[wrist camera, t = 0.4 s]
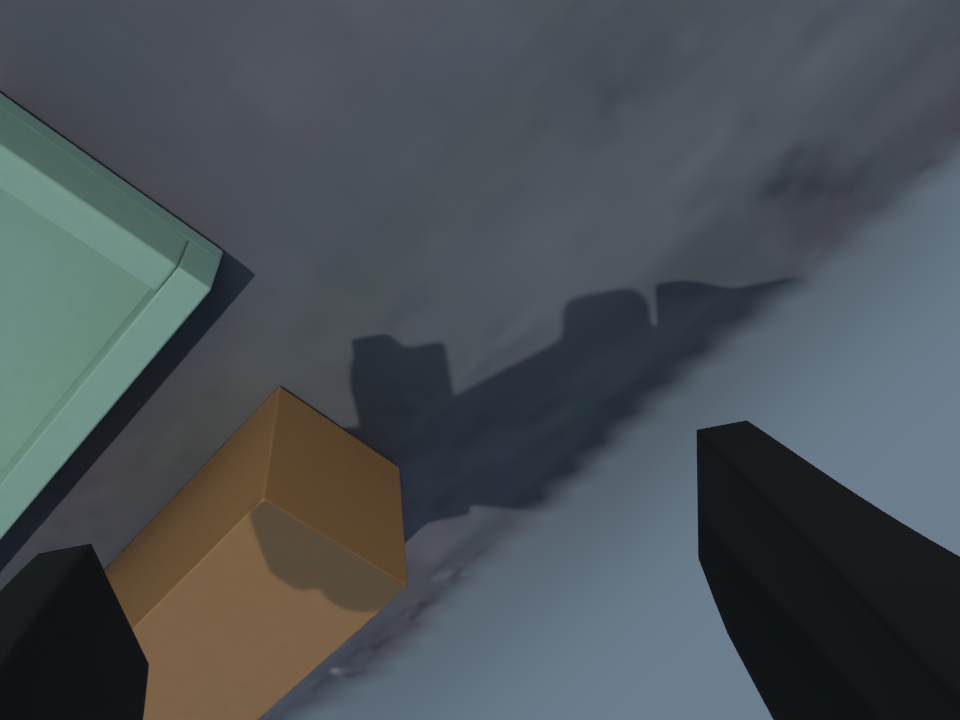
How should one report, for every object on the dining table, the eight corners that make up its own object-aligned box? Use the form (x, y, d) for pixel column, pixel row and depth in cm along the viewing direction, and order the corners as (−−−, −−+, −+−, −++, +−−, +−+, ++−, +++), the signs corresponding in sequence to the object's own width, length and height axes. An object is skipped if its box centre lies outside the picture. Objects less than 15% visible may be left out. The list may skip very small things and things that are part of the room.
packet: (399, 467, 24) (409, 586, 20) (219, 639, 26) (195, 777, 22) (279, 385, 22) (263, 498, 18) (97, 577, 24) (47, 714, 20)
